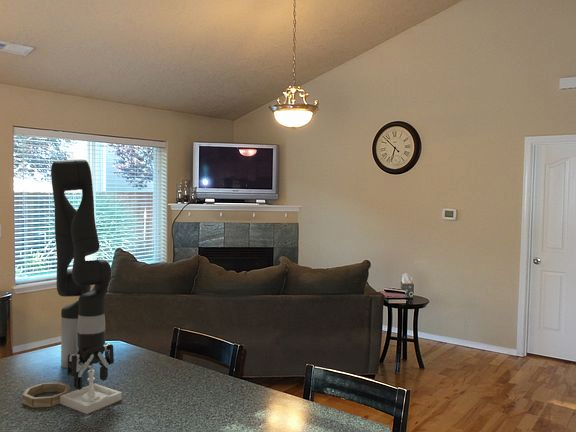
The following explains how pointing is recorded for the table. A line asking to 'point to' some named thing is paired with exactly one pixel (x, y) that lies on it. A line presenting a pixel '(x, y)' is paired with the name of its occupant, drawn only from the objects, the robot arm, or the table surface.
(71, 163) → the robot arm
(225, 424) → the table surface
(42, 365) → the table surface
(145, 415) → the table surface
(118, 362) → the table surface
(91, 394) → the chess piece
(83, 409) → the tray
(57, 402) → the holder ring
